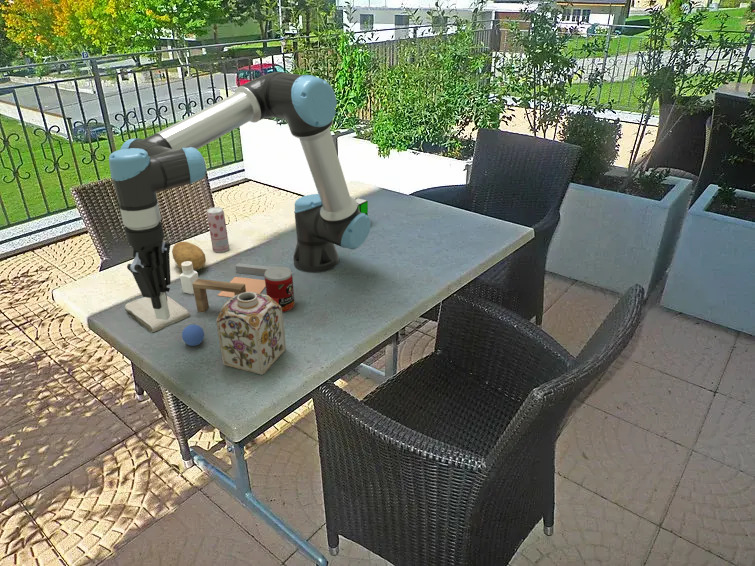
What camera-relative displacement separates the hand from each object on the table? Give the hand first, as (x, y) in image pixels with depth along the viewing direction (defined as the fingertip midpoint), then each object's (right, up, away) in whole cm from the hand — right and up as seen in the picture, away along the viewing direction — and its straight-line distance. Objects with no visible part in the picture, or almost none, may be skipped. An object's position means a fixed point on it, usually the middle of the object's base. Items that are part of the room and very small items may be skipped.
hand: (163, 317), depth 126 cm
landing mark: (+9, +6, +41) cm, 42 cm away
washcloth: (-13, -1, +29) cm, 32 cm away
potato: (-12, +13, +53) cm, 56 cm away
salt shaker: (-7, +5, +40) cm, 40 cm away
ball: (+2, -5, +14) cm, 15 cm away
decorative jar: (+19, -11, +10) cm, 24 cm away
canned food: (+22, +1, +32) cm, 39 cm away
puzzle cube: (+40, +30, +84) cm, 98 cm away
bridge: (+6, 0, +29) cm, 29 cm away
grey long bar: (+11, +11, +49) cm, 52 cm away
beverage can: (-5, +20, +65) cm, 68 cm away
